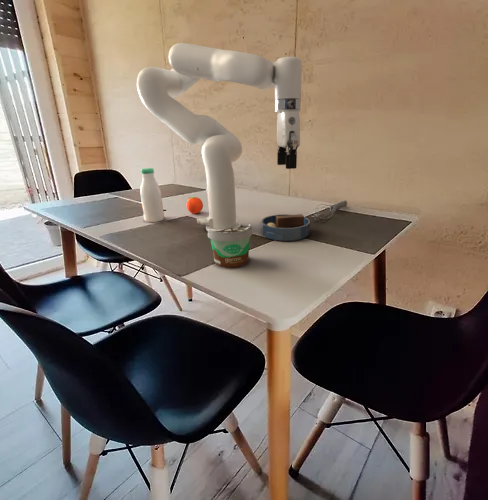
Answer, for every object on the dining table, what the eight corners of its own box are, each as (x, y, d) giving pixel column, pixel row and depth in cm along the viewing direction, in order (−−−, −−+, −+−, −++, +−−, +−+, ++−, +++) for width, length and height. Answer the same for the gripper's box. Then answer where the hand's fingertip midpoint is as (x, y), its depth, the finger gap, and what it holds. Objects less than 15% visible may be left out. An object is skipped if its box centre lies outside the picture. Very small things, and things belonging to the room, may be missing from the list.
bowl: (267, 244, 97) (267, 230, 96) (257, 228, 112) (256, 216, 110) (316, 239, 100) (317, 226, 98) (300, 224, 115) (300, 213, 113)
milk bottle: (168, 218, 126) (162, 168, 118) (153, 223, 120) (145, 170, 112) (155, 216, 130) (148, 166, 122) (140, 220, 124) (131, 169, 116)
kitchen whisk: (352, 205, 139) (354, 191, 137) (323, 226, 113) (324, 209, 111) (339, 204, 142) (340, 190, 140) (308, 223, 116) (309, 207, 114)
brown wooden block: (300, 229, 108) (301, 214, 106) (303, 232, 105) (304, 216, 103) (275, 231, 106) (275, 216, 104) (277, 234, 104) (277, 218, 102)
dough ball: (268, 235, 103) (265, 233, 106) (278, 233, 104) (274, 231, 107) (267, 224, 102) (263, 223, 105) (277, 222, 103) (273, 221, 106)
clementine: (182, 213, 133) (180, 196, 130) (195, 209, 138) (193, 193, 135) (194, 216, 128) (192, 199, 125) (207, 212, 133) (205, 196, 130)
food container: (216, 273, 79) (213, 236, 75) (209, 264, 84) (206, 229, 80) (260, 264, 83) (260, 229, 79) (251, 256, 88) (250, 222, 85)
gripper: (310, 104, 84) (307, 169, 90) (291, 107, 100) (289, 163, 106) (283, 105, 83) (282, 170, 89) (268, 108, 98) (268, 163, 105)
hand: (286, 166), depth 98 cm, fingers open, 9 cm apart
